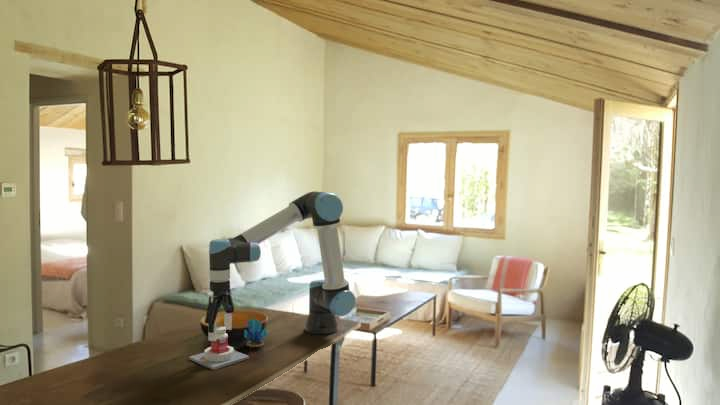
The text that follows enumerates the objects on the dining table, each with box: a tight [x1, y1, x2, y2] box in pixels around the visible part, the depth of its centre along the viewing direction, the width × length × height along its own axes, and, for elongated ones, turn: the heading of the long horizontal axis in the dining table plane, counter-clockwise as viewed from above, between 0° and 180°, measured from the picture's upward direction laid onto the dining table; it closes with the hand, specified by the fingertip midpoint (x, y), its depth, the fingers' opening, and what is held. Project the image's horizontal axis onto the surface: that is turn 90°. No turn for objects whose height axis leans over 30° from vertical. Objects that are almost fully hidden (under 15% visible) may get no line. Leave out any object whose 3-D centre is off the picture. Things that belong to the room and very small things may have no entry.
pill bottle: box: [210, 325, 229, 354], centre depth 197 cm, size 6×6×11 cm
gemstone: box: [243, 317, 268, 348], centre depth 215 cm, size 7×9×12 cm
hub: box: [188, 345, 250, 371], centre depth 198 cm, size 16×16×4 cm
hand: (220, 334), depth 197 cm, fingers open, 13 cm apart
